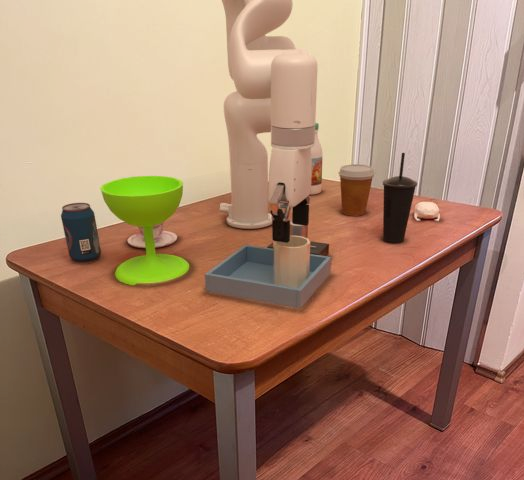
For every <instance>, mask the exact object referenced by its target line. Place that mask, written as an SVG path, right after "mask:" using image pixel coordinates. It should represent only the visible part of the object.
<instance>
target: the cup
mask: <svg viewBox="0 0 524 480" xmlns="http://www.w3.org/2000/svg"><path fill="white" fill-rule="evenodd" d="M310 241H311V240H310V239H309V238H308V239H307V238H305V237H302V236H295V235H291V236H290V241H289V242H288V243H285V242H278V241H273V240H272V243H273V284H275V285H281V286H287V287H293V288H299V287H300V286H301V285H302V284H303V283H304V282H305V281H306V279H307V278H308V277H309V267H310Z"/></svg>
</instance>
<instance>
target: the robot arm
mask: <svg viewBox="0 0 524 480" xmlns="http://www.w3.org/2000/svg"><path fill="white" fill-rule="evenodd" d="M221 4H222V6H223V9H224V14H225V27H226V28H225V29H226V31H225V32H226V52H227V67H228V73H229V77H230V78H231V80H232V81H233V84H234V87H235V90H236V91H233V92H231V93H229V94H228V95H227V96H226V97H225V98H224V102H223V116H224V122H225V127H226V131H227V140H228V141H227V142H228V150H229V151H228V154H229V155H228V156H229V172H230V173H229V174H230V176H229V177H230V194H231V203H227V202H220V204H219V212H220V213H226V214H228V216H227V217H226V224H227V225H228V226H230V227H232V228H235V229H241V230H242V229H243V230H256V229H262V228H267V227H270V226H271V227H272V228H271V237H272V238H271V240H272V242H273V241H278V242H285V243H288V242H289V241H290V222H291V221H292V223H293V224H297V225H304V226H307V225H308V226H309V224H310V223H309V220H310V202H311V198H310V195H309V194H310V190H311V177H312V158H311V147H313V146H314V144H315V123H316V116H317V114H316V113H317V93H318V91H317V90H318V61H317V59H316V57H315V56H313V55H312V54H310V53H309V52H307V50H303V49H296V45H295V43H294V41H293V39H291V38H290V37H288V36H284V35H267V34H269V33H271V32H273V31H275V30H277V29H279V28H280V27H281V26H282V25H284V24H285V23H286V21H287V20H288V19H289V18H290V16H291V14H292V11H293V5H294V4H293V0H221ZM266 133H270V146H271V147H272V148H271V150H270V151H271V153H270V159H269V155H268V151H267V147H266V146H265V145H264V143H263V142H262V141H261V140H260V139H259V138H258V134H259V135H260V134H266ZM268 159H269V160H268ZM269 208H270V212H269ZM283 209H284V211H283ZM291 209H292V211H291ZM291 213H292V215H291V220H289V219H290V214H291Z"/></svg>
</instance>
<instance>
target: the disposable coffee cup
mask: <svg viewBox="0 0 524 480" xmlns="http://www.w3.org/2000/svg"><path fill="white" fill-rule="evenodd" d="M375 175H376V173H375V171H374V167H373V166H372V165H371V166H370V165H367V164H358V163H357V164H355V163H353V164H345V165H342V166H340V168H339V171H338V176H339V182H340V195H341V196H340V197H341V212H342V214H343V215H345V216H350V217H358V216H359V217H361V216H363V215H365V214H366V211H367V207H368V200H369V196H370V193H371V187H372V182H373V178H374V177H375Z"/></svg>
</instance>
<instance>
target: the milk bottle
mask: <svg viewBox="0 0 524 480" xmlns="http://www.w3.org/2000/svg"><path fill="white" fill-rule="evenodd" d="M319 126H320V125H319V123H318V122H315V144H314V146H313V147H311V158H312V177H311V190H310V194H309V196H310V195H311V196H312V195H317V194H320V193H321V192H322V183H323V181H322V180H323V148H322V144H321V142H320V139H319V136H318V132H319Z"/></svg>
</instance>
